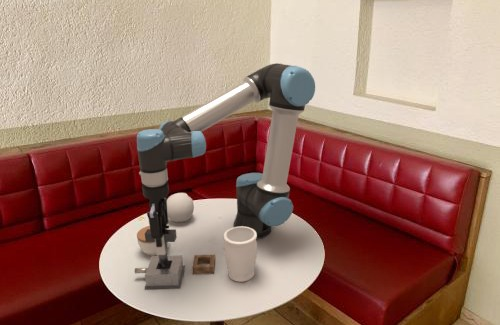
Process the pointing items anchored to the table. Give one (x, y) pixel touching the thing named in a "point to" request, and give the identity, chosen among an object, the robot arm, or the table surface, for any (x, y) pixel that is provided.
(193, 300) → the table surface
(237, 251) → the jar
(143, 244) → the lidded jar
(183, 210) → the decorative ball
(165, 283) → the square block with stud
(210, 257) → the key stand
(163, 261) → the bar
